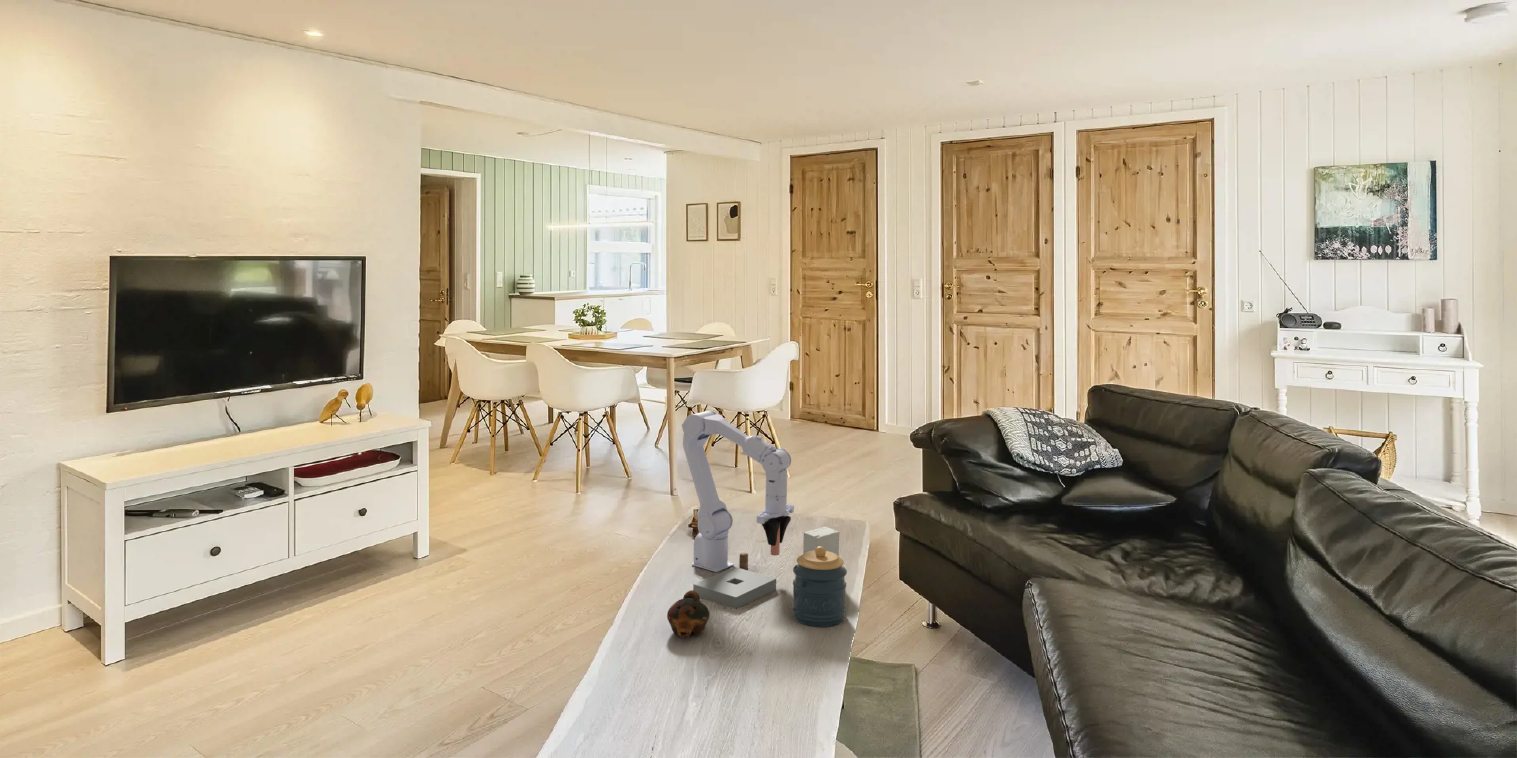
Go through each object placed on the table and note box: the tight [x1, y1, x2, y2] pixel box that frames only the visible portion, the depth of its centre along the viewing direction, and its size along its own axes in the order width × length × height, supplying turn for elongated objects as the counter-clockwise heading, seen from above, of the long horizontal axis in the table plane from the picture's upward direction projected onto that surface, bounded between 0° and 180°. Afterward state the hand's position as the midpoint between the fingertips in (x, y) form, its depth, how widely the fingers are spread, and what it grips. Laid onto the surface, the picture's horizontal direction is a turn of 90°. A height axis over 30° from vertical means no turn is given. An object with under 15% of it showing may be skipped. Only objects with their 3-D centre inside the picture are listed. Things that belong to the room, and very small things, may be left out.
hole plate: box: [692, 566, 777, 610], centre depth 220 cm, size 14×17×3 cm
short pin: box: [738, 552, 749, 571], centre depth 237 cm, size 2×2×4 cm
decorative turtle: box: [666, 590, 710, 639], centre depth 195 cm, size 10×15×8 cm, turn 2°
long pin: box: [770, 526, 781, 556], centre depth 229 cm, size 2×2×8 cm
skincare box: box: [802, 526, 840, 557], centre depth 226 cm, size 8×6×15 cm
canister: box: [791, 546, 848, 628], centre depth 204 cm, size 13×13×18 cm
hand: (775, 543), depth 229 cm, fingers closed on long pin, 2 cm apart
